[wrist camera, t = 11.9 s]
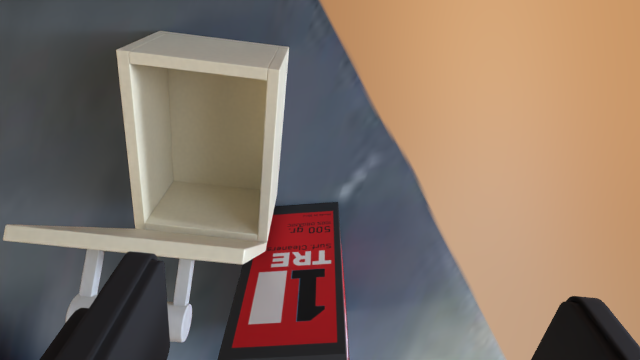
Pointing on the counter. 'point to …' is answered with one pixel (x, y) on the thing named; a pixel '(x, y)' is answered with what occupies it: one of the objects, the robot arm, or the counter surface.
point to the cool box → (203, 133)
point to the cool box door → (139, 241)
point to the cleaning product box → (292, 292)
